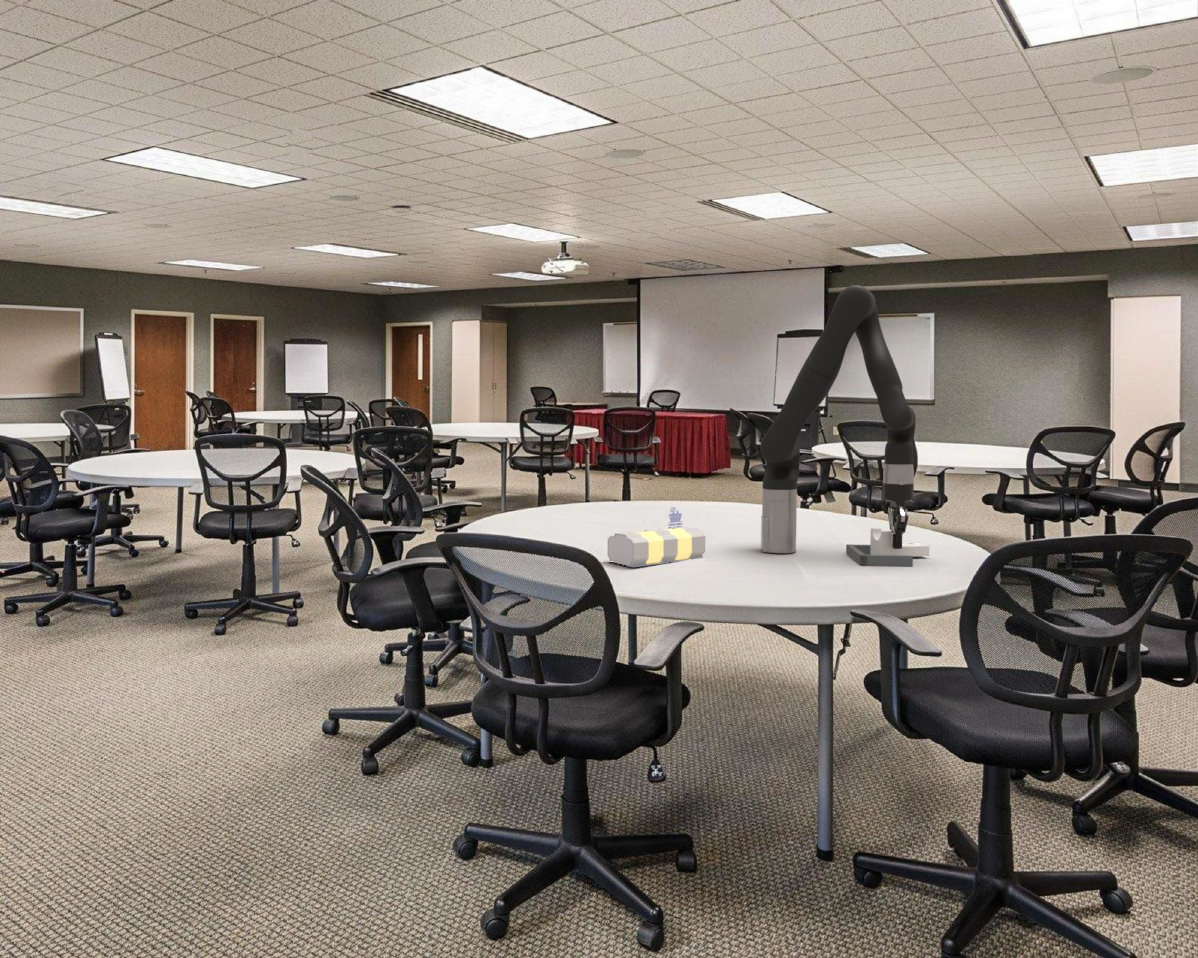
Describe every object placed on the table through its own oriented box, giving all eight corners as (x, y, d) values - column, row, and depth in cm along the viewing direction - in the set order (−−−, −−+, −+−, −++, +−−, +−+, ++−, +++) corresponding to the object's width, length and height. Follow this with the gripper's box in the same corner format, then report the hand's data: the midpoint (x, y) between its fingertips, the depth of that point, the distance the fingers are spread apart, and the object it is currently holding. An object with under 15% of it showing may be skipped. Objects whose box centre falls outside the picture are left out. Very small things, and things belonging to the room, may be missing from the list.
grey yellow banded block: (678, 553, 248) (679, 506, 247) (705, 558, 240) (705, 509, 239) (607, 562, 233) (607, 511, 232) (633, 567, 225) (633, 514, 224)
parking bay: (860, 565, 225) (861, 555, 225) (846, 553, 246) (846, 544, 246) (912, 566, 224) (912, 556, 224) (893, 554, 245) (893, 545, 245)
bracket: (882, 560, 235) (882, 531, 235) (870, 556, 242) (870, 528, 242) (929, 559, 237) (929, 530, 237) (915, 555, 244) (916, 527, 244)
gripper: (878, 480, 240) (876, 544, 241) (889, 483, 227) (887, 551, 228) (907, 480, 239) (905, 545, 240) (919, 483, 226) (918, 552, 227)
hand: (897, 548), depth 234 cm, fingers closed
